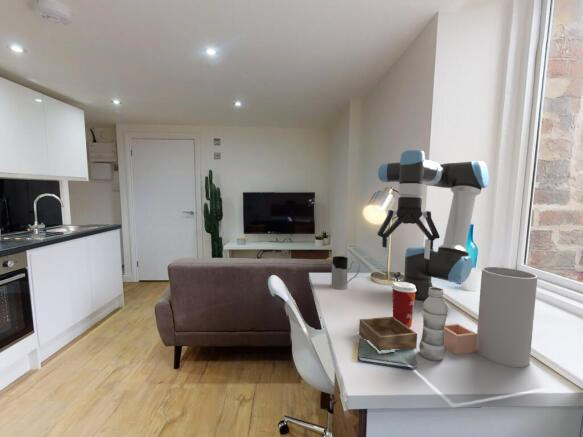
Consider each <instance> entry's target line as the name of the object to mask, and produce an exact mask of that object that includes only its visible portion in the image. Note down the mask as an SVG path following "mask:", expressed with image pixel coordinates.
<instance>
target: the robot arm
mask: <svg viewBox="0 0 583 437" xmlns="http://www.w3.org/2000/svg"><path fill="white" fill-rule="evenodd" d="M377 177H378V179H379V181H380V182H383V183H398V196H399V197H398V199H397V210H392V209H389V210H387V216H386V217H385V220H384V221H383V223H381V224H382V225H380V228H379V230H378V231H377V233H376V234H377V236H379V237H380V238H382V240H381V241H382V243H381V246H382V248H384V257H385V258H389V257H390V256H389V254H390V238H389V236H390V235H391V234H392V233H393V232H394V231H396V229H397V228H398V227H399V226H400V225H401V224H402V223H403V224H404V225H405V224H406V225H407V224H412V225H416V226H417V227H418V229H420V231H421V232H423V235H425V237H426V238H425V240H424V246H412V247H407V248H406V250H405V254H404V258H405V259H404V275H403V276H404V277H403V280H402V282H407V283H411V284H414V285H415V287H416V290H417V291H416V292H415V300H414V301H419V302H424V301H425V300H426V299H427V298H428V297H429V295H428V292H429V288H430V287H434V286H433V282H432V278H434V279H438V280H442V281H443V280H444V281H448V282H450V283H457V284H462V283H465V282H466V281H467V280H468V278H469V277H470V274H471V272H472V269H473V262H474V261H473V259H472V257H471V256H469V255H470V253H469V251H467V248H466V247H467V243H468V237H469V233H470V228H471V223H472V217H473V212H474V208H475V202H476V197H477V196H478V195H480V194H481V192H482V189H485V188H487V187H488V185H489V181H490V180H489V170H488V167H487V164H486V163H485V162H484V161H480V160H479V161H473V160H471V161H463V162H462V161H461V162H451V163H450V162H448V163H447V162H446V163H441V164H439V162H436V161H434V160H431V159H426V157H425V152H424V151H423V150H420V149H419V150H418V149H411V150H405V151H402V152H401V154H400V160H399V161H398V162H386V163H382V164H380V165H379V167H378V170H377ZM423 184H424V185H426V186H429V187H430V186H431V187H437V188H445V189H450V191H451V192H452V193H453V195H452V199H451V204H450V210H449V213H448V214H449V215H448V219H447V224H446V229H445V234H444V237H443V238H444V239H443V243H442V244H441V245H439V246H438V247H437V248H438V249H437V251H434V249H435V248H434V242H435V240H436V239H440V237H441V236H440V234H439V231H438V229H437V227H436V225H435V223H434V220H433V218H432V212H431V211H430V210H425V211H422V204H423V203H422V202H423V199H422V197H421V196H423ZM395 215H396V217H397V219H396V220H394V222H393V224H392V225H391V226H389V224H390V223H391V221H392V220H393V218H394V217H395ZM421 217H423V218H424V219H425V222H426V224H427V226H428V228H429V229H428V228H427V227H426V225H424V223H423V221H422V220H421V219H420V218H421ZM388 226H389V228H388ZM387 228H388V229H387ZM386 229H387V230H386ZM429 230H430V231H429Z"/></svg>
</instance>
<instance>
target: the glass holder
mask: <svg viewBox="0 0 583 437" xmlns="http://www.w3.org/2000/svg"><path fill="white" fill-rule="evenodd" d="M348 262H349V260H348V257H346V256H341V255H340V256H332V261H331V279H330V285H329V286H330V288H331V289H334V290H337V291H338V290H339V291H341V290H343V291H344V290H347V289H348V288H349V286H348V284H349V282H351V281H352V280H353V279H355V278H356V277H357V276H358V275H359V272H360V267H361V265H360V262H359V261H356V260H354V261H352V262H351V263H350V268H348ZM354 263H358V269H357V270H358V271H357V273H356V274H355V275H354V276H353V277H351V278H350V279H348V270H351V269H352V267H353V266H352V265H353V264H354Z"/></svg>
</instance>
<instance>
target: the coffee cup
mask: <svg viewBox="0 0 583 437" xmlns="http://www.w3.org/2000/svg"><path fill="white" fill-rule="evenodd" d="M391 289H392V317H394V318H396V319H397V320H398V321H400V322H401V323H403V324H404V325H405V326H407V327H408V328H410V329H411V327H412V324H413V323H412V322H413V315H414V307H415V306H414V304H415V301H416V300H415V292H416V291H417V290H416V287H415V285H414V284H411V283H407V282H403V281H395V282H393V283H392V285H391Z"/></svg>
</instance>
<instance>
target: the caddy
mask: <svg viewBox="0 0 583 437" xmlns="http://www.w3.org/2000/svg"><path fill="white" fill-rule="evenodd" d="M358 326H359V327H358V334H359V336H360V337H361V338H362V339H363V340H364V339H366V340H369V341H370V342H371V343H372V344H373V345H374V346H375V347H376V348H377V349H378V350H379V351H381V350H391V349H405V348H413V349H417V345H418V344H417V341H418V333H417V332H416V331H414V330H412V329H411V327H410V328H408V327H407V326H405V325H404V324H403V323H401V322H400V321H398V320H397V319H396V318H394V317H393V316H385V317H375V318H374V317H372V318H360V319H359V323H358ZM405 350H406V349H405Z"/></svg>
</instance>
